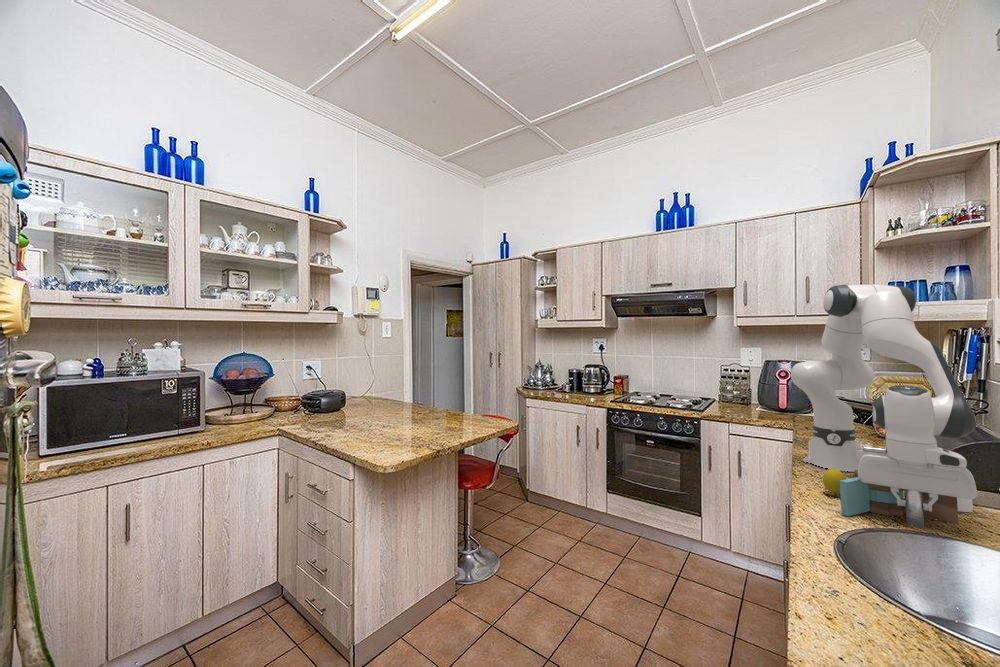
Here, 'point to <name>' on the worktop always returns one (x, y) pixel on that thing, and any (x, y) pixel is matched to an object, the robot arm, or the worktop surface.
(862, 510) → the hinge swing leaf
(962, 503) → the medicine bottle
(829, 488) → the lemon
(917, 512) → the steel pin
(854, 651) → the worktop surface
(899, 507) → the hinge fixed leaf
